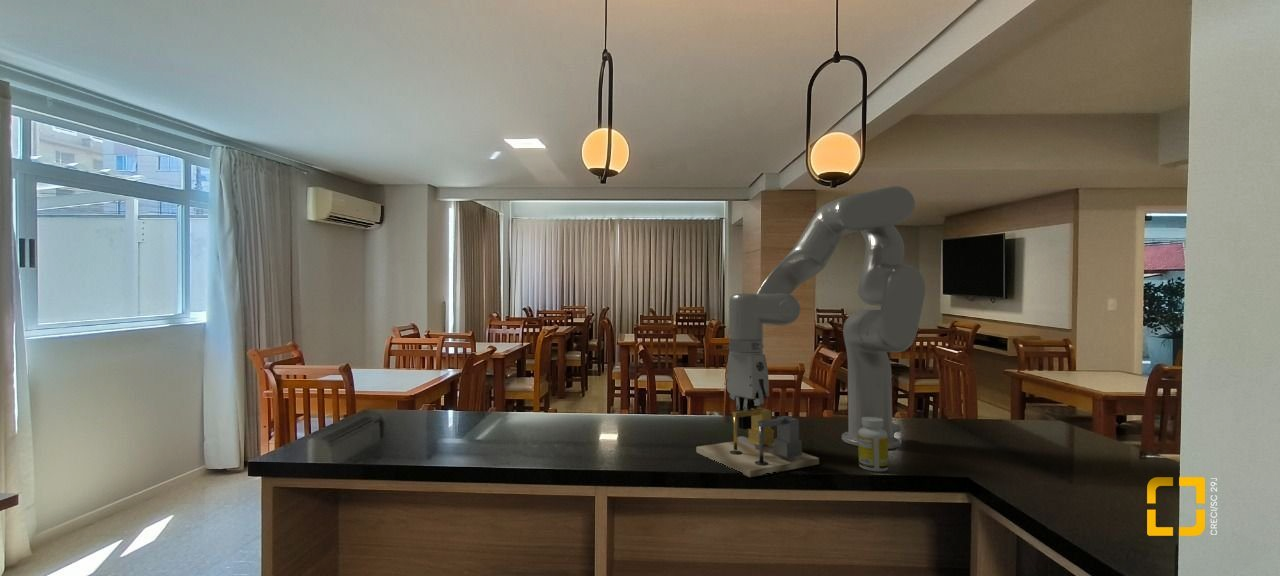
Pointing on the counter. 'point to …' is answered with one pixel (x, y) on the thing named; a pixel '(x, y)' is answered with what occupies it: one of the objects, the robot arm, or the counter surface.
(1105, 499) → the counter surface
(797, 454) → the fixed leg
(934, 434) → the counter surface
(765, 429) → the slider leg
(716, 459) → the board
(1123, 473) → the counter surface
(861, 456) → the supplement bottle
